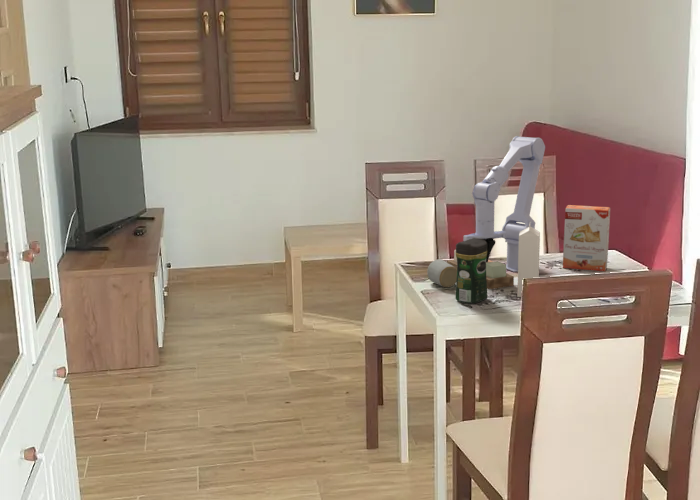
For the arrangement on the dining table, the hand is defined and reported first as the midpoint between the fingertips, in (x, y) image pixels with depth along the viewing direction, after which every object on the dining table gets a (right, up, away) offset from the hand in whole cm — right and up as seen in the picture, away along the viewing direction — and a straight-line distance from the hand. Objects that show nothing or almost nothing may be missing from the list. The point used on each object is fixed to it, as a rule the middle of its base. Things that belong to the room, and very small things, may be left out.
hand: (484, 261), depth 275 cm
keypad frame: (-1, -5, +4) cm, 7 cm away
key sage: (+3, -5, -5) cm, 7 cm away
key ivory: (-5, 0, +12) cm, 13 cm away
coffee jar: (-7, -11, -20) cm, 24 cm away
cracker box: (+36, -3, +12) cm, 38 cm away
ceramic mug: (-12, -7, -3) cm, 15 cm away
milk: (+11, -10, -16) cm, 21 cm away
